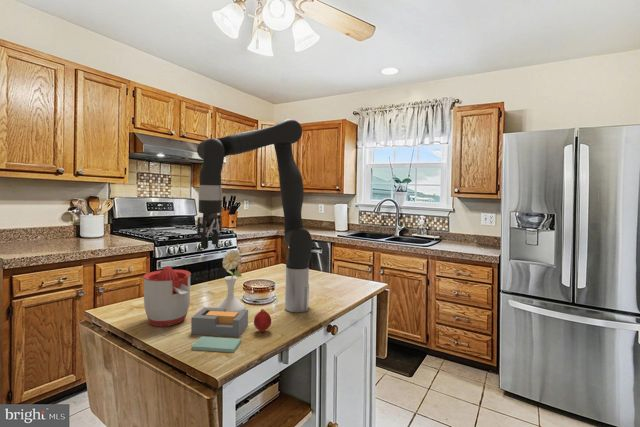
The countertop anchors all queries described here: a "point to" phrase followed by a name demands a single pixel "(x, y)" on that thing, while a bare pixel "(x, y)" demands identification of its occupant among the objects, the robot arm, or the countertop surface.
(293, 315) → the countertop surface
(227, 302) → the flower in vase
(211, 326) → the kitting block
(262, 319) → the onion
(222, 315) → the plank
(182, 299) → the citrus juicer
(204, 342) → the mat
